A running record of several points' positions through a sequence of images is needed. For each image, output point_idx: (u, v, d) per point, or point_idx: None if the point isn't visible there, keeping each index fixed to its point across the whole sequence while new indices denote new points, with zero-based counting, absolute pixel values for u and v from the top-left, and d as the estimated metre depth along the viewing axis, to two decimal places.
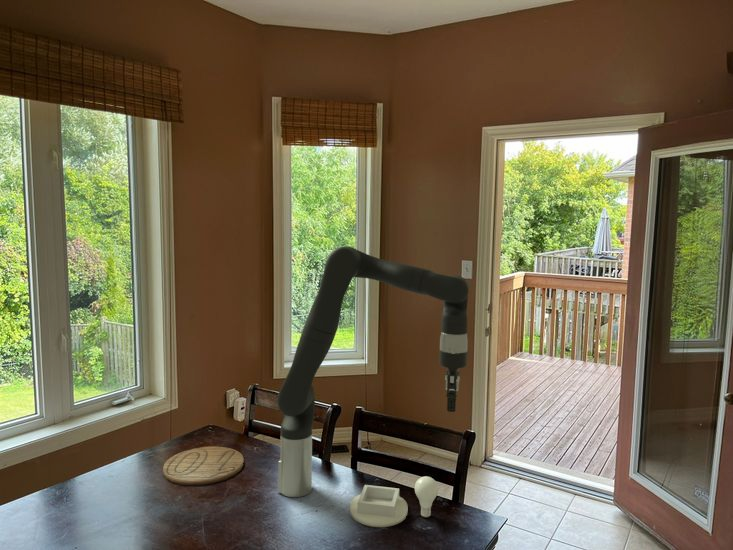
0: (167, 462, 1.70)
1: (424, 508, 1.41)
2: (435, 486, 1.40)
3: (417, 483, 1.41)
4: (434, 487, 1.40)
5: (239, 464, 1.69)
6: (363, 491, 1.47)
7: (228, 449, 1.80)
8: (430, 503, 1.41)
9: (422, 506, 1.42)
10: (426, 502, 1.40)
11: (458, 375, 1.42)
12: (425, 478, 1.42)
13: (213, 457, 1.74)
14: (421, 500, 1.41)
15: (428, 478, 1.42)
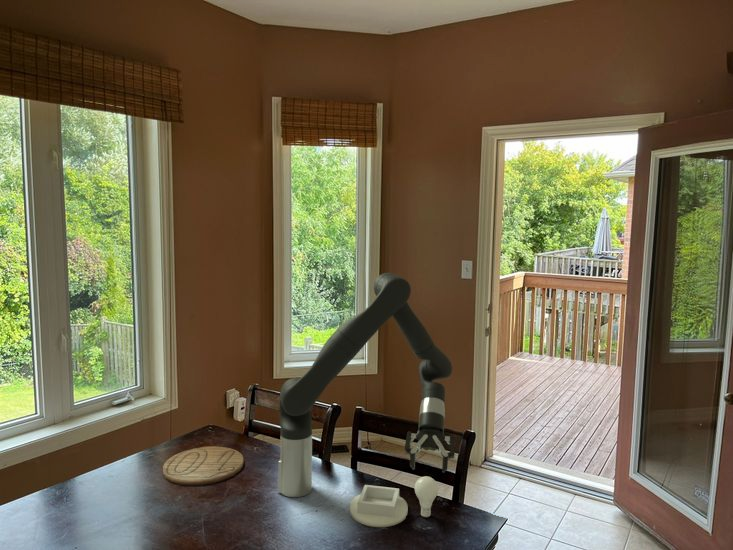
0: (167, 462, 1.70)
1: (424, 508, 1.41)
2: (435, 486, 1.40)
3: (417, 483, 1.41)
4: (434, 487, 1.40)
5: (239, 464, 1.69)
6: (363, 491, 1.47)
7: (228, 449, 1.80)
8: (430, 503, 1.41)
9: (422, 506, 1.42)
10: (426, 502, 1.40)
11: None
12: (425, 478, 1.42)
13: (213, 456, 1.74)
14: (421, 500, 1.41)
15: (428, 478, 1.42)
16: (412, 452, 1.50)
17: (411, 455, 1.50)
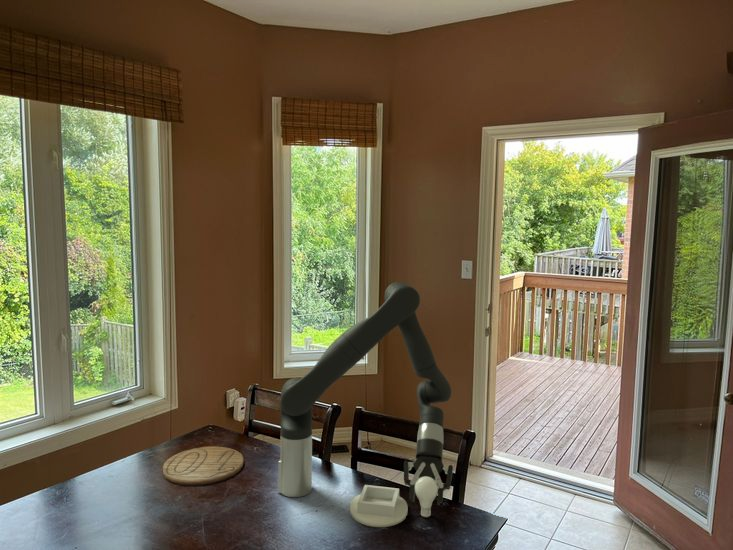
0: (167, 462, 1.70)
1: (424, 508, 1.41)
2: (435, 486, 1.40)
3: (417, 483, 1.41)
4: (434, 487, 1.40)
5: (239, 464, 1.69)
6: (363, 491, 1.47)
7: (228, 449, 1.80)
8: (430, 503, 1.41)
9: (422, 506, 1.42)
10: (426, 502, 1.40)
11: None
12: (425, 478, 1.42)
13: (213, 456, 1.74)
14: (421, 500, 1.41)
15: (428, 478, 1.42)
16: (412, 483, 1.43)
17: (411, 487, 1.43)
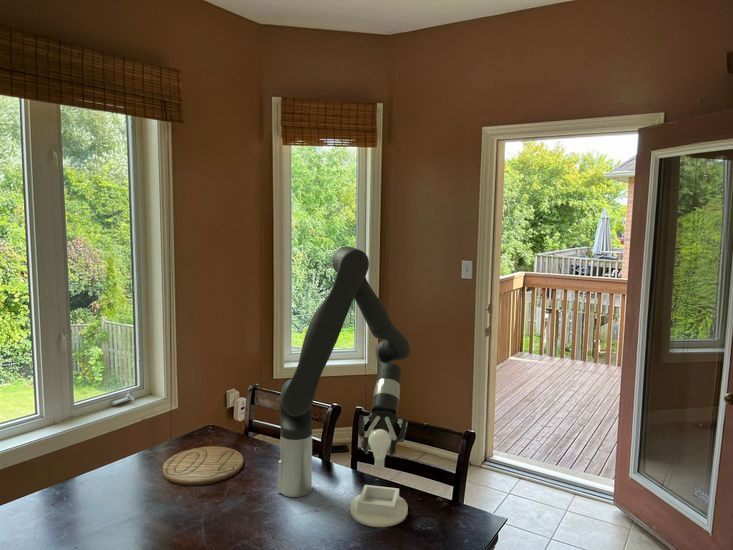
0: (167, 462, 1.70)
1: (377, 460, 1.43)
2: (388, 438, 1.42)
3: (370, 435, 1.43)
4: (386, 438, 1.42)
5: (238, 464, 1.69)
6: (363, 491, 1.47)
7: (228, 449, 1.80)
8: (383, 455, 1.43)
9: (375, 458, 1.43)
10: (379, 453, 1.42)
11: None
12: (378, 430, 1.43)
13: (213, 456, 1.74)
14: (374, 452, 1.42)
15: (381, 430, 1.43)
16: (366, 436, 1.45)
17: (365, 439, 1.45)
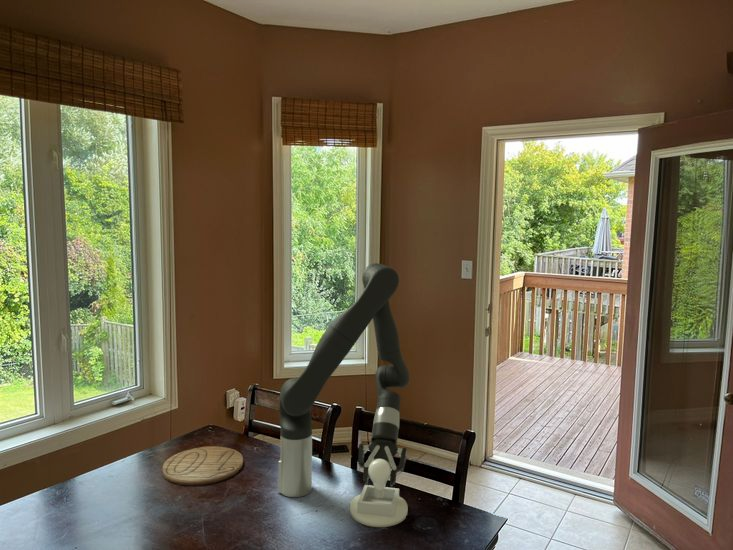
0: (167, 462, 1.70)
1: (377, 490, 1.44)
2: (388, 468, 1.43)
3: (370, 465, 1.44)
4: (386, 468, 1.42)
5: (238, 464, 1.69)
6: (363, 491, 1.47)
7: (228, 449, 1.80)
8: (383, 485, 1.43)
9: (375, 488, 1.44)
10: (379, 484, 1.43)
11: None
12: (378, 460, 1.44)
13: (213, 456, 1.74)
14: (374, 482, 1.43)
15: (381, 460, 1.44)
16: (366, 466, 1.46)
17: (365, 469, 1.46)
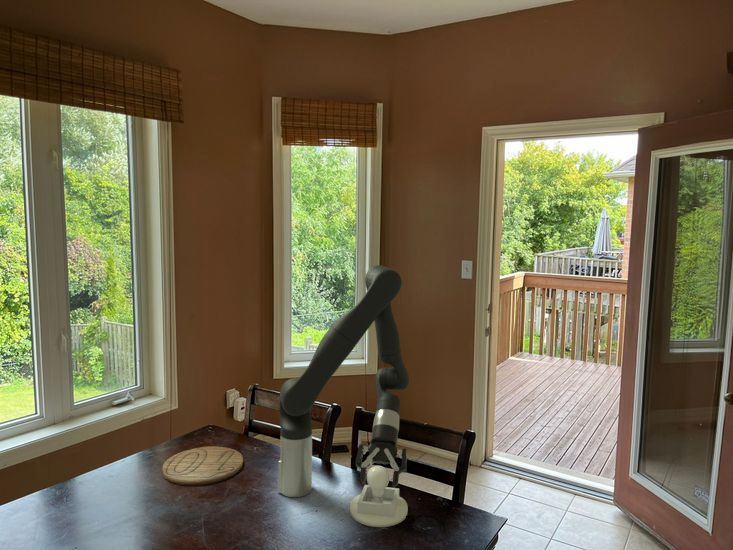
0: (166, 462, 1.70)
1: (376, 497, 1.44)
2: (386, 475, 1.43)
3: (368, 472, 1.44)
4: (385, 475, 1.43)
5: (238, 464, 1.69)
6: (363, 491, 1.47)
7: (228, 449, 1.80)
8: (381, 491, 1.44)
9: (374, 495, 1.44)
10: (377, 490, 1.43)
11: None
12: (376, 467, 1.44)
13: (212, 456, 1.74)
14: (372, 489, 1.43)
15: (379, 467, 1.44)
16: (363, 466, 1.46)
17: (362, 469, 1.46)
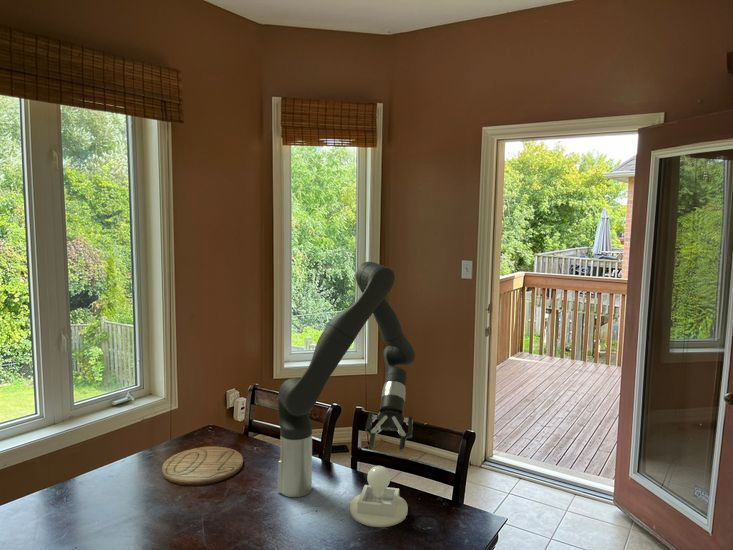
0: (166, 462, 1.70)
1: (376, 497, 1.44)
2: (387, 475, 1.43)
3: (369, 472, 1.44)
4: (386, 476, 1.43)
5: (238, 464, 1.69)
6: (363, 491, 1.47)
7: (228, 449, 1.80)
8: (382, 492, 1.44)
9: (374, 495, 1.44)
10: (378, 491, 1.43)
11: None
12: (377, 467, 1.44)
13: (212, 456, 1.74)
14: (373, 489, 1.43)
15: (380, 467, 1.44)
16: (372, 432, 1.59)
17: (371, 435, 1.59)
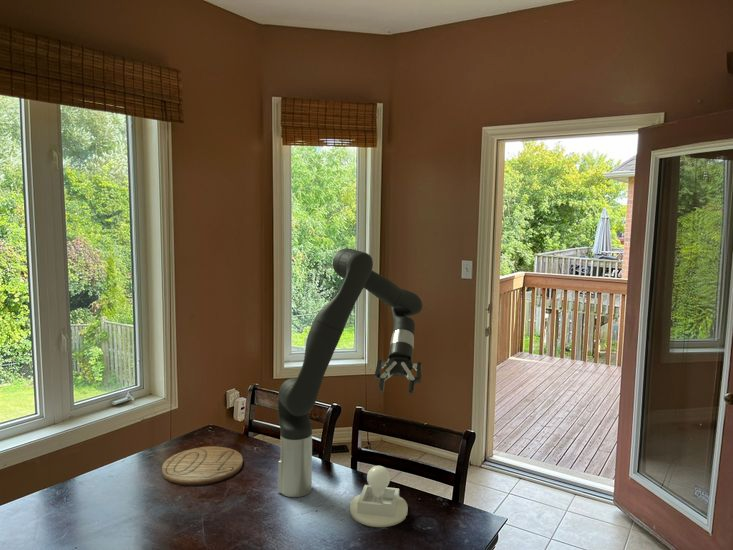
0: (166, 462, 1.70)
1: (376, 497, 1.44)
2: (386, 475, 1.43)
3: (369, 472, 1.44)
4: (385, 475, 1.43)
5: (238, 464, 1.69)
6: (363, 491, 1.47)
7: (228, 449, 1.80)
8: (382, 492, 1.44)
9: (374, 495, 1.44)
10: (378, 491, 1.43)
11: None
12: (377, 467, 1.44)
13: (212, 456, 1.74)
14: (373, 489, 1.43)
15: (380, 467, 1.44)
16: (382, 377, 1.61)
17: (381, 380, 1.61)
